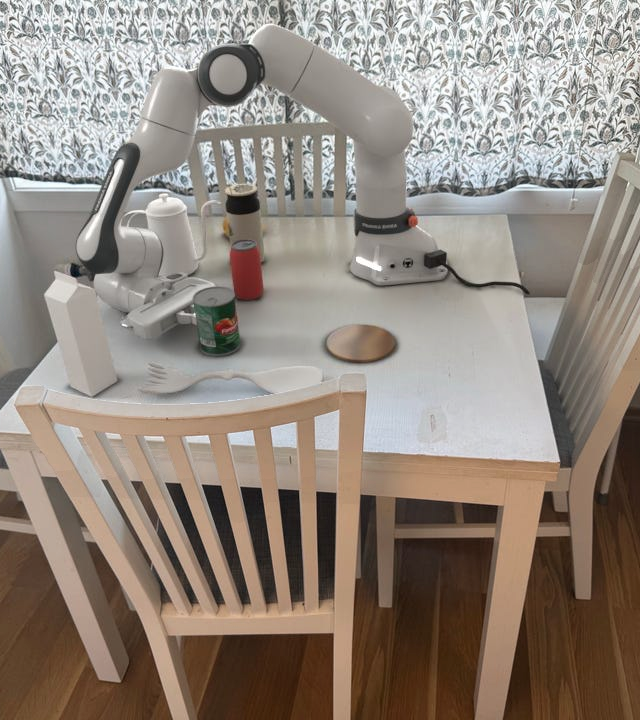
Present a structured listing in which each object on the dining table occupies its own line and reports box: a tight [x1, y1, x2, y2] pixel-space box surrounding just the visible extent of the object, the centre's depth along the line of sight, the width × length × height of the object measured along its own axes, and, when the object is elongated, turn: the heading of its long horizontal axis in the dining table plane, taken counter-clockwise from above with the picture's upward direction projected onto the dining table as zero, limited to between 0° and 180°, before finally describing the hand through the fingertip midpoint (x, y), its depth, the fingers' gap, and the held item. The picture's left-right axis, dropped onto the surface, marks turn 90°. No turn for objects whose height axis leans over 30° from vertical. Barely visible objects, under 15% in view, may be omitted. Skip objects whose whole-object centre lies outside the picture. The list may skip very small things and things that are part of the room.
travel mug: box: [224, 183, 266, 263], centre depth 161 cm, size 8×8×18 cm
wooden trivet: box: [326, 324, 396, 364], centre depth 130 cm, size 13×13×1 cm
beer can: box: [229, 239, 265, 301], centre depth 147 cm, size 7×7×12 cm
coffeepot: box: [119, 192, 222, 277], centre depth 158 cm, size 11×25×19 cm, turn 84°
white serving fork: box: [136, 361, 325, 395], centre depth 119 cm, size 9×32×4 cm, turn 86°
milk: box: [43, 270, 118, 398], centre depth 117 cm, size 6×6×22 cm
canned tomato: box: [193, 285, 241, 357], centre depth 129 cm, size 8×8×11 cm
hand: (203, 318), depth 132 cm, fingers closed, pressing on canned tomato
